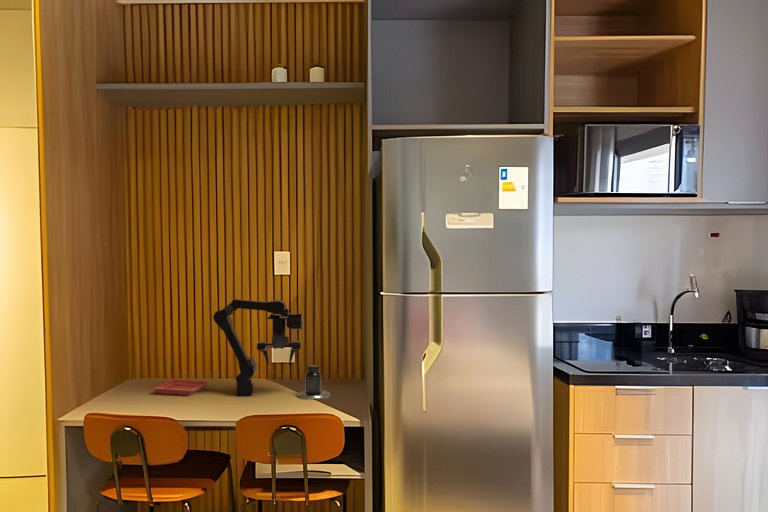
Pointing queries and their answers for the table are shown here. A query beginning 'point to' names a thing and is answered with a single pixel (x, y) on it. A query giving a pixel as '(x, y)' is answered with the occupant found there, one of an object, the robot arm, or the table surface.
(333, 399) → the table surface
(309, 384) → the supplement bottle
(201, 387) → the plant saucer
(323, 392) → the rosette plate
